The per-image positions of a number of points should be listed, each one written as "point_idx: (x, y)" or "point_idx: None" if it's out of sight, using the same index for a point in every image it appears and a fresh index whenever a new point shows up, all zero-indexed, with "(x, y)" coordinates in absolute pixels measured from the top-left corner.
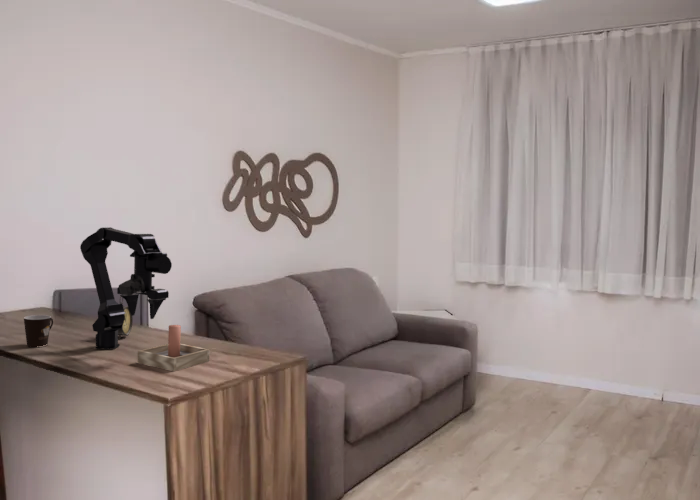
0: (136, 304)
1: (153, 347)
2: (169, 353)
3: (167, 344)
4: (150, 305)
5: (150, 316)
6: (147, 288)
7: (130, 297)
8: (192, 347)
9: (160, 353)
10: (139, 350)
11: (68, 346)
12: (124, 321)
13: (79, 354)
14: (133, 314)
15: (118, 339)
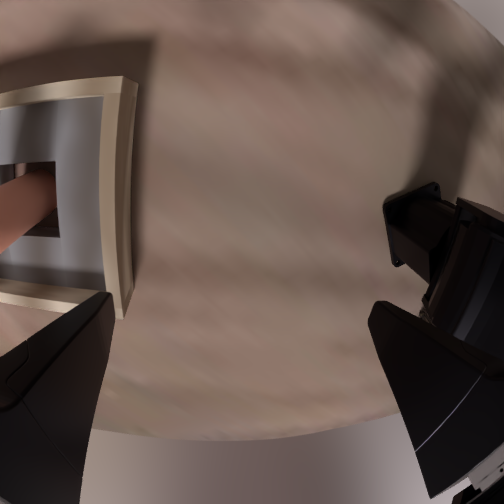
0: (402, 410)
1: (110, 185)
2: (18, 178)
3: (110, 274)
4: (12, 384)
5: (98, 301)
6: None
7: (491, 422)
8: (18, 294)
9: (95, 198)
10: (120, 87)
11: (494, 175)
12: None
13: (432, 94)
14: (372, 319)
15: (423, 312)
